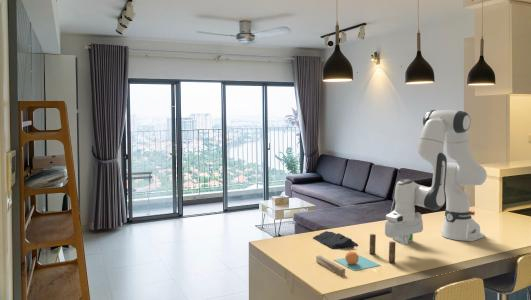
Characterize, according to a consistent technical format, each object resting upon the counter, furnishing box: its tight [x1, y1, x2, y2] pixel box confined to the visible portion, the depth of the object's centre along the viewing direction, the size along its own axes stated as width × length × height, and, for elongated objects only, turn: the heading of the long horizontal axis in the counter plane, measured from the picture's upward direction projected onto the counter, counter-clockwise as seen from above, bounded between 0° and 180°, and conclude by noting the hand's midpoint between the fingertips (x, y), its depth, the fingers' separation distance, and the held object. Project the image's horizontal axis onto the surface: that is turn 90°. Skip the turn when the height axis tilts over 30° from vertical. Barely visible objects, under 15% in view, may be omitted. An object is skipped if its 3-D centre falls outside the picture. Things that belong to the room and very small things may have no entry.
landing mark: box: [333, 254, 381, 272], centre depth 181 cm, size 14×14×1 cm
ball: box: [344, 250, 359, 265], centre depth 179 cm, size 6×6×6 cm
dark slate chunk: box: [312, 230, 358, 250], centre depth 211 cm, size 15×22×5 cm
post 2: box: [388, 241, 397, 265], centre depth 182 cm, size 3×3×9 cm
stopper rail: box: [315, 255, 346, 277], centre depth 175 cm, size 2×18×2 cm, turn 26°
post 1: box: [369, 233, 377, 256], centre depth 193 cm, size 3×3×9 cm
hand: (404, 243), depth 194 cm, fingers closed
